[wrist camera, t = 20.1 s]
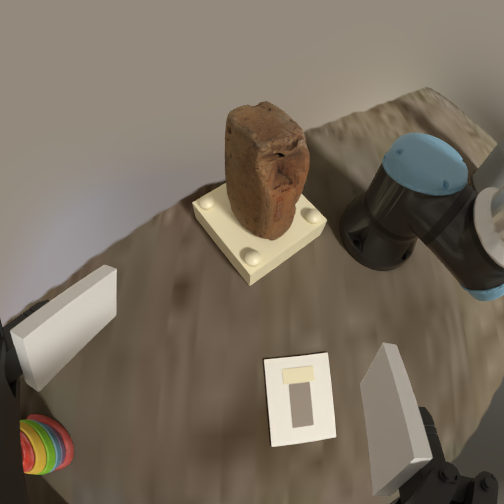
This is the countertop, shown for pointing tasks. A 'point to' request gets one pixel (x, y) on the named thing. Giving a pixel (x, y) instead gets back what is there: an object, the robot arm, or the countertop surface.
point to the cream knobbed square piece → (249, 245)
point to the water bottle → (491, 170)
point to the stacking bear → (44, 445)
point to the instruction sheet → (299, 399)
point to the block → (264, 168)
